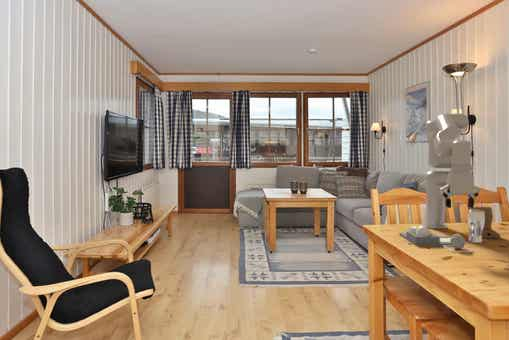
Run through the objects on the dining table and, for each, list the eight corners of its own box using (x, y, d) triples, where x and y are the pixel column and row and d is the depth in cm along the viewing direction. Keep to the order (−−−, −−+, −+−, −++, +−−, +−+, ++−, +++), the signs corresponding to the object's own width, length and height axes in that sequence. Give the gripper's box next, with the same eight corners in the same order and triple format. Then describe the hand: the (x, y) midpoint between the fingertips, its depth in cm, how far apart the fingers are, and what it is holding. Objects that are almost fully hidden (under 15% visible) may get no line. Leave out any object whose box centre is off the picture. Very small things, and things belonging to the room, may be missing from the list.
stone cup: (468, 231, 202) (469, 203, 201) (494, 233, 198) (495, 205, 197) (473, 238, 188) (474, 208, 187) (501, 240, 184) (502, 209, 183)
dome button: (413, 236, 183) (413, 224, 182) (426, 236, 183) (426, 224, 182) (418, 240, 177) (419, 227, 176) (431, 240, 177) (432, 227, 176)
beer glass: (481, 240, 184) (482, 209, 183) (485, 243, 177) (487, 212, 176) (465, 239, 186) (466, 209, 184) (469, 242, 179) (470, 211, 178)
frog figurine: (447, 249, 168) (448, 233, 168) (453, 246, 173) (453, 231, 173) (462, 252, 164) (463, 236, 164) (467, 248, 169) (468, 233, 168)
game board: (399, 234, 195) (399, 224, 195) (440, 234, 194) (441, 225, 194) (424, 251, 164) (425, 240, 164) (474, 252, 164) (474, 240, 163)
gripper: (475, 168, 170) (474, 206, 171) (437, 168, 170) (435, 206, 171) (485, 169, 162) (484, 209, 163) (445, 169, 162) (443, 208, 163)
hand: (459, 207), depth 167 cm, fingers open, 9 cm apart
